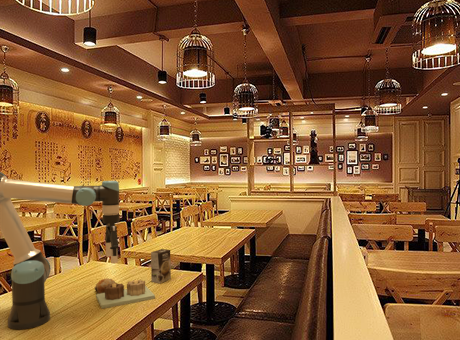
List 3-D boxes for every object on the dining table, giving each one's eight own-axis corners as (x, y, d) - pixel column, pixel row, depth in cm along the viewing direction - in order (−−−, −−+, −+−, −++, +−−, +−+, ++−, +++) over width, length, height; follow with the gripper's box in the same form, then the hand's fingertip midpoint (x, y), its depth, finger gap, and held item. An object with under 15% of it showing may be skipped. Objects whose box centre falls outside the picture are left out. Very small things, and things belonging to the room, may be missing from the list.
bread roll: (106, 302, 183) (112, 287, 182) (89, 292, 184) (95, 278, 184) (116, 295, 192) (122, 281, 192) (100, 285, 194) (105, 272, 193)
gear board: (101, 308, 165) (101, 291, 165) (96, 297, 179) (95, 281, 179) (155, 298, 176) (154, 282, 176) (145, 288, 190) (145, 273, 190)
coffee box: (160, 283, 198) (159, 253, 198) (151, 281, 201) (150, 251, 201) (171, 279, 206) (170, 249, 205) (162, 277, 209) (161, 248, 209)
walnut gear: (106, 301, 170) (106, 290, 170) (103, 295, 177) (103, 285, 177) (125, 297, 174) (125, 287, 174) (121, 292, 181) (121, 282, 181)
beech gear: (134, 297, 174) (134, 286, 174) (123, 293, 180) (123, 283, 179) (148, 292, 181) (148, 281, 181) (138, 288, 186) (137, 278, 186)
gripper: (124, 216, 165) (125, 264, 166) (114, 210, 187) (114, 252, 188) (107, 217, 162) (107, 266, 162) (98, 211, 184) (99, 254, 184)
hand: (111, 259), depth 175 cm, fingers open, 13 cm apart
